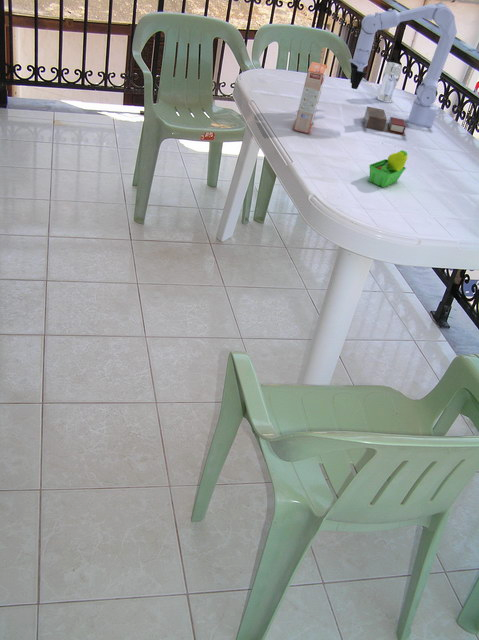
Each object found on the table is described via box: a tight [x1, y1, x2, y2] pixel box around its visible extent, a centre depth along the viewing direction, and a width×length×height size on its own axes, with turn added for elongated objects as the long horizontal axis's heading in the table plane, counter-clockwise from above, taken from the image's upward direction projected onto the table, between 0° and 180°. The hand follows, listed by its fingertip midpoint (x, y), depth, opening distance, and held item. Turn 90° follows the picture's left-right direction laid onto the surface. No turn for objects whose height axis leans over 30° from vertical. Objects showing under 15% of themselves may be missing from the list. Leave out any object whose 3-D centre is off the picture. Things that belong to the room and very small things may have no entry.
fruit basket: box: [368, 149, 408, 188], centre depth 208 cm, size 11×9×11 cm
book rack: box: [363, 106, 407, 137], centre depth 254 cm, size 15×12×6 cm
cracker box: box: [293, 61, 328, 135], centre depth 237 cm, size 14×6×21 cm, turn 168°
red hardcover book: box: [388, 116, 407, 134], centre depth 254 cm, size 5×8×3 cm, turn 175°
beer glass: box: [377, 61, 403, 103], centre depth 288 cm, size 7×7×15 cm
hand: (353, 85), depth 262 cm, fingers open, 7 cm apart
